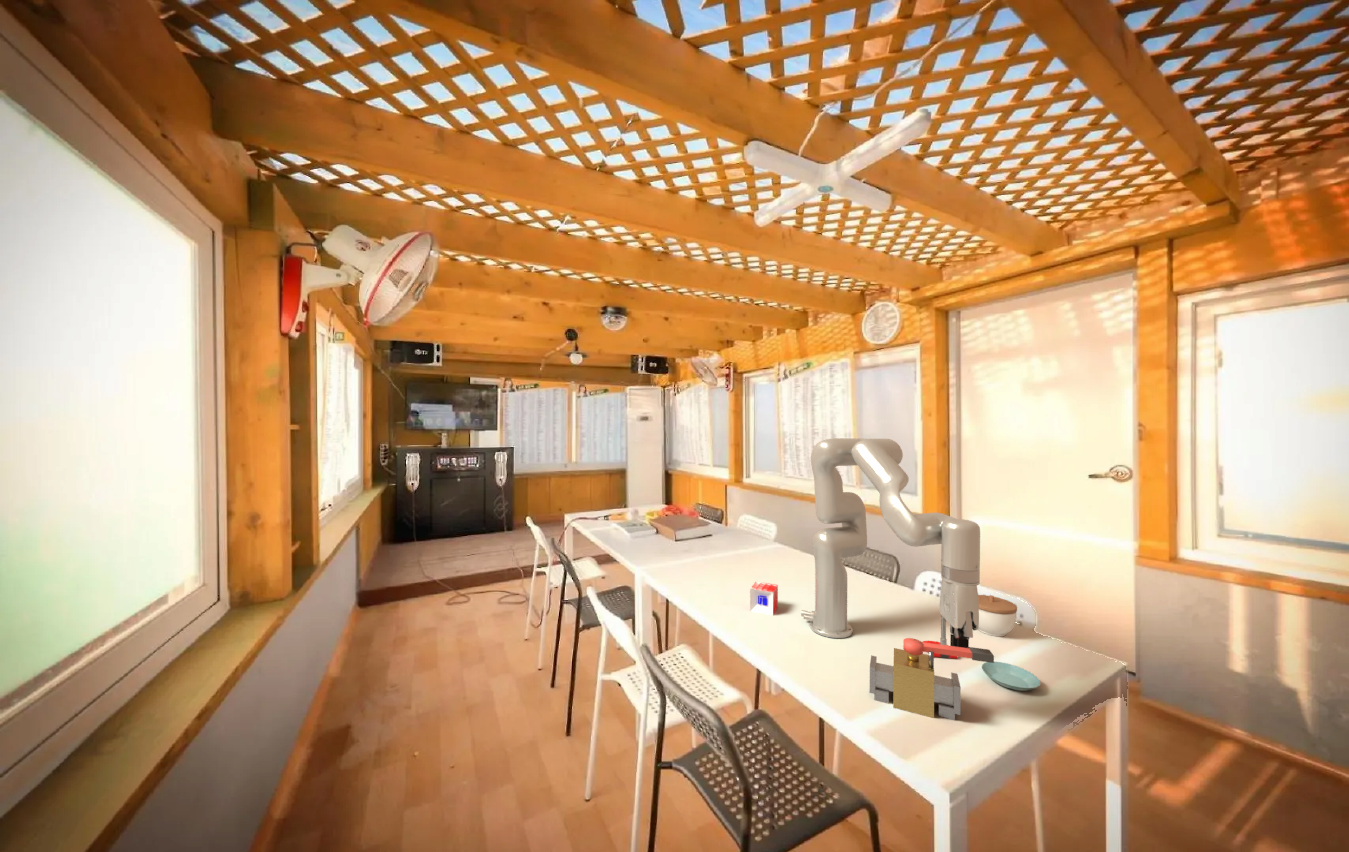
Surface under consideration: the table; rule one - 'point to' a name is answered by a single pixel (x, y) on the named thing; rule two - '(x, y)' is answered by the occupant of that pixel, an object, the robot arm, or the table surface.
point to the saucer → (1011, 676)
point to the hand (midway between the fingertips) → (959, 653)
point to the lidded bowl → (996, 615)
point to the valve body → (915, 685)
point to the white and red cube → (764, 598)
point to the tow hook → (942, 640)
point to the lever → (947, 650)
